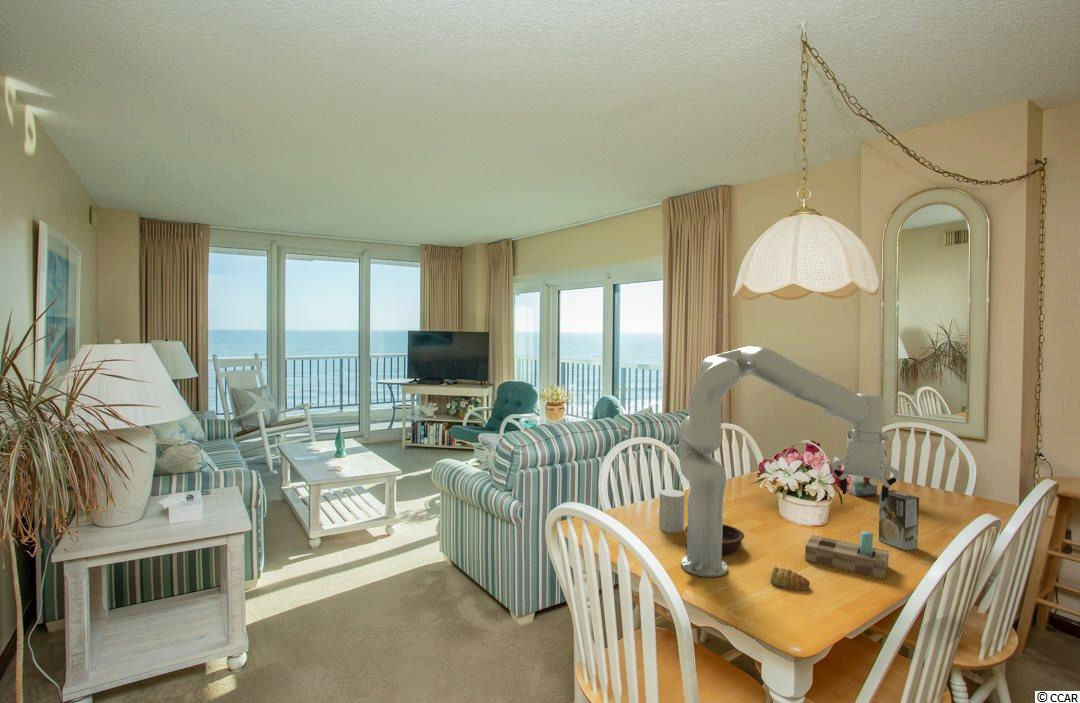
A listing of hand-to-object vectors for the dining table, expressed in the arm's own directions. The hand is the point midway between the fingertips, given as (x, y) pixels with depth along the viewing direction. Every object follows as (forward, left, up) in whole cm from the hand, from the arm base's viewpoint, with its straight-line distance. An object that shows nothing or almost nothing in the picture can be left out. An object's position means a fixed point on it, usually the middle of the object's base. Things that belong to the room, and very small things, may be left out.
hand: (863, 496), depth 159 cm
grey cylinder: (-4, +56, -21) cm, 60 cm away
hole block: (0, +4, -20) cm, 21 cm away
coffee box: (+26, -7, -21) cm, 34 cm away
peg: (0, -1, -21) cm, 20 cm away
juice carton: (+80, +9, -21) cm, 83 cm away
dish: (-11, +39, -21) cm, 45 cm away
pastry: (-24, +15, -21) cm, 35 cm away
